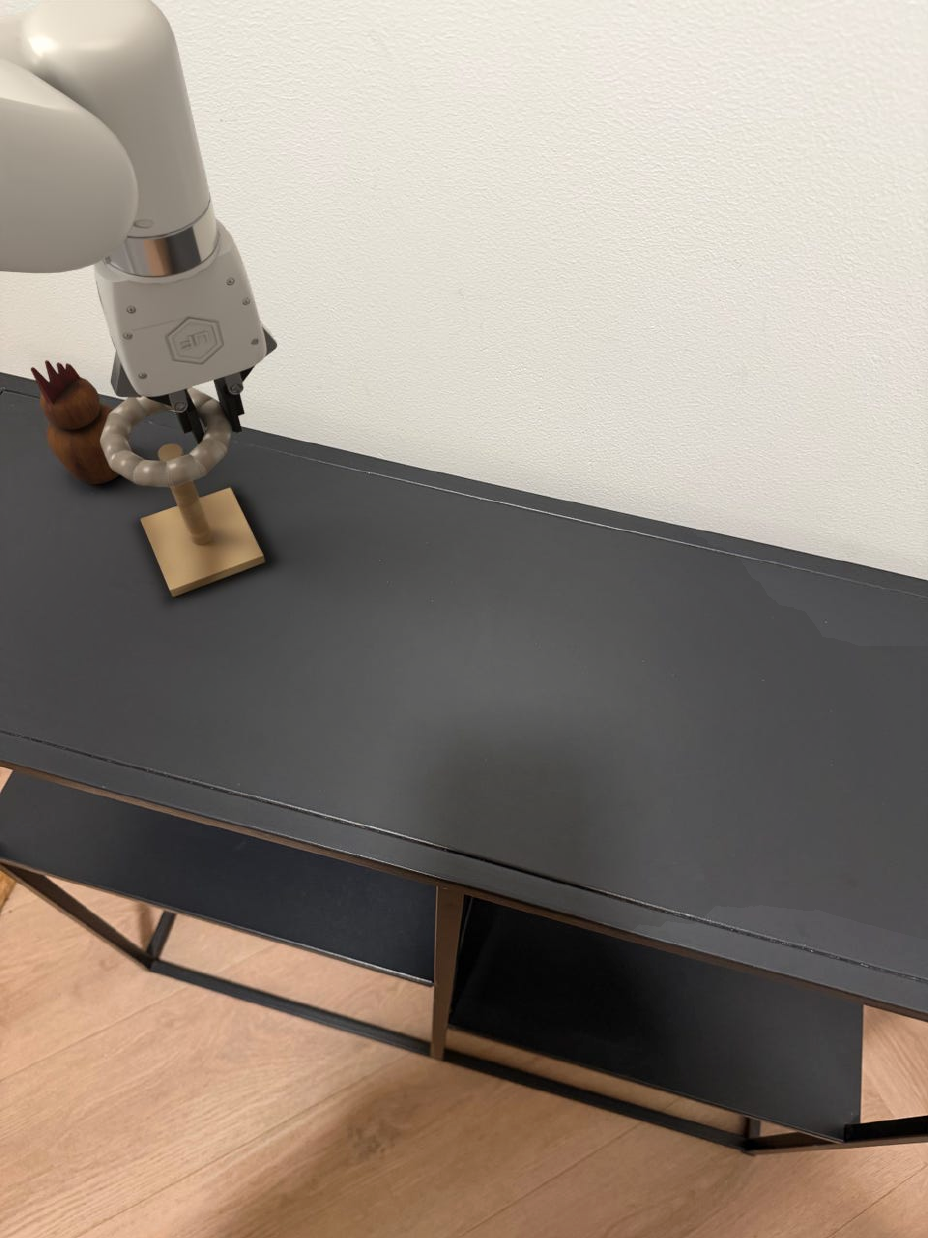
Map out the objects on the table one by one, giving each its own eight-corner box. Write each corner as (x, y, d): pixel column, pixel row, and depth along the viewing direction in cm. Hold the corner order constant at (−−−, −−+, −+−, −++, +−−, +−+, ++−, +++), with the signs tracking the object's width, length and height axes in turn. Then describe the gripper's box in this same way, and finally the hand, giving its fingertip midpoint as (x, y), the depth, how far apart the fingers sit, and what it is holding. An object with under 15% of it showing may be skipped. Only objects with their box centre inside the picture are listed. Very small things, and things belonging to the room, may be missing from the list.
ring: (128, 508, 65) (120, 492, 63) (91, 421, 69) (83, 404, 67) (250, 465, 68) (246, 449, 66) (208, 383, 72) (203, 366, 70)
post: (173, 597, 77) (132, 510, 66) (143, 525, 81) (99, 432, 70) (265, 562, 80) (241, 472, 68) (232, 494, 84) (204, 399, 72)
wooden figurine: (86, 503, 82) (26, 392, 69) (57, 467, 84) (-7, 352, 71) (148, 470, 85) (100, 356, 72) (118, 436, 86) (67, 319, 73)
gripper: (41, 297, 49) (131, 492, 65) (296, 228, 54) (322, 427, 70) (11, 223, 53) (104, 426, 69) (254, 164, 57) (288, 368, 73)
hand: (214, 425), depth 69 cm, fingers closed on ring, 2 cm apart
